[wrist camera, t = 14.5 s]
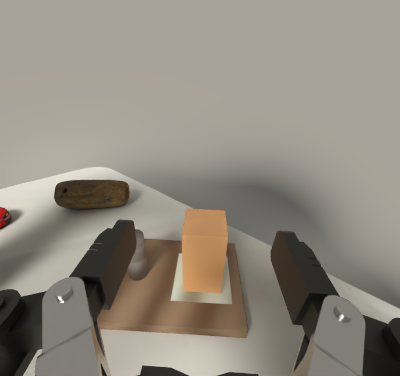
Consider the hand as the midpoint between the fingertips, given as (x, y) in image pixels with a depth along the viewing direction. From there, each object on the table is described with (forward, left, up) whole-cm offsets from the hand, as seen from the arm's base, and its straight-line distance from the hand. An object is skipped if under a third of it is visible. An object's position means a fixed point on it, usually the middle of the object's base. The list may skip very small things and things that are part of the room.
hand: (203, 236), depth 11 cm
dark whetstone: (-26, +30, -19) cm, 44 cm away
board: (-5, +11, -19) cm, 22 cm away
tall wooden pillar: (0, +11, -17) cm, 20 cm away
